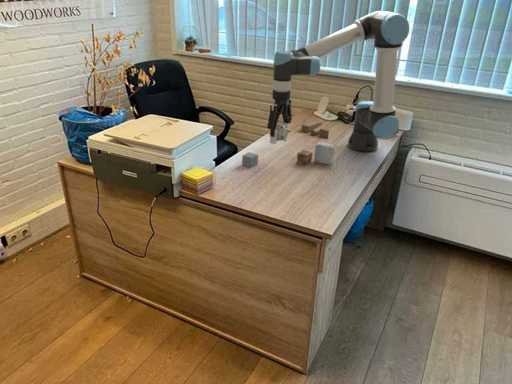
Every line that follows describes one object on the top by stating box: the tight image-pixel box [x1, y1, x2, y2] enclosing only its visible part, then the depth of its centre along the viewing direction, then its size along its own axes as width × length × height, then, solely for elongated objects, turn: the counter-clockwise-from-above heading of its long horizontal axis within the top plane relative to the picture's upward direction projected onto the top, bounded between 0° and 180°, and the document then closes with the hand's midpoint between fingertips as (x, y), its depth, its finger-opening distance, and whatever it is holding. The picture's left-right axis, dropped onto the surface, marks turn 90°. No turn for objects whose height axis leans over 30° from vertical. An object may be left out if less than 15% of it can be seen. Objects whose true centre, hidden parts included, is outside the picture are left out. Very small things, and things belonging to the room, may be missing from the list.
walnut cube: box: [296, 149, 313, 166], centre depth 199 cm, size 5×5×5 cm
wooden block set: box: [300, 118, 330, 139], centre depth 239 cm, size 17×6×18 cm
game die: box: [268, 122, 291, 142], centre depth 191 cm, size 9×8×10 cm
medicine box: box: [313, 141, 335, 166], centre depth 199 cm, size 8×4×9 cm, turn 65°
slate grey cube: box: [241, 151, 259, 169], centre depth 194 cm, size 5×5×5 cm
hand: (279, 140), depth 192 cm, fingers closed on game die, 9 cm apart
